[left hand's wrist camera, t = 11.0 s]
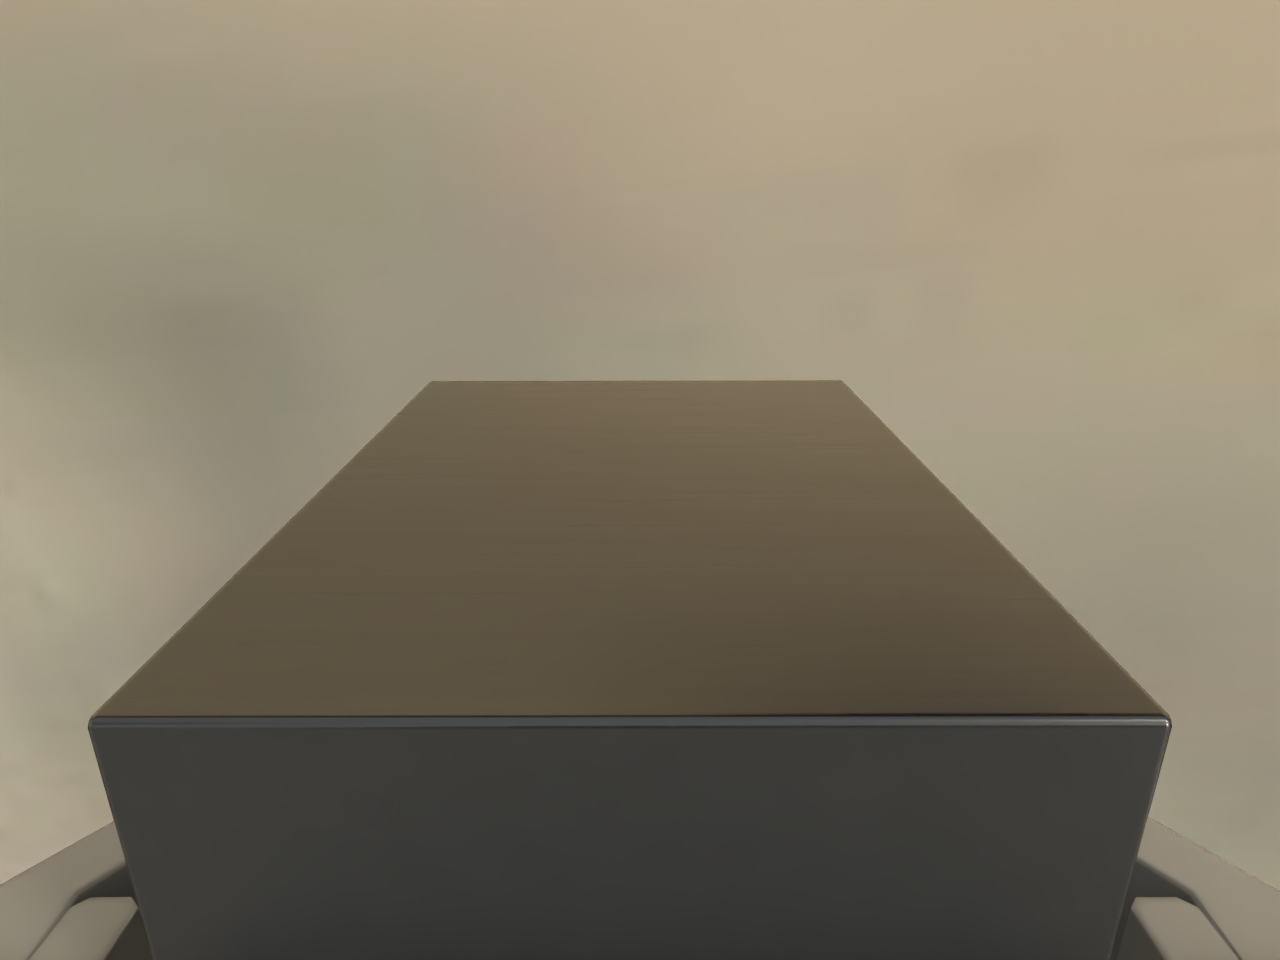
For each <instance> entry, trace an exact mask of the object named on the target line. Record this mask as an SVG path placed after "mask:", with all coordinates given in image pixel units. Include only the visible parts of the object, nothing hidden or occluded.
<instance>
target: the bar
mask: <svg viewBox="0 0 1280 960" xmlns="http://www.w3.org/2000/svg"><path fill="white" fill-rule="evenodd" d="M1171 728H1172V724H1171V719H1170V717H1169V715H1168V714H1167V713H1166V712H1165V711H1164V710H1163V709H1162V707H1161V706H1160V705H1159V704H1158V703H1157V702H1156V701H1155V700H1154V699H1153V698H1152V697H1151V696H1150V695H1149V694H1148V693H1147V692H1146V691H1145V690H1144V689H1143V688H1142V687H1141V686H1140V685H1139V684H1138V683H1137V682H1136V681H1135V680H1134V679H1133V678H1132V677H1131V676H1130V675H1129V674H1128V673H1127V672H1126V671H1125V670H1124V669H1123V668H1122V667H1121V666H1120V665H1119V663H1118V662H1117V661H1116V660H1115V659H1114V658H1113V657H1112V656H1111V655H1110V654H1109V653H1108V652H1107V651H1106V650H1105V649H1104V648H1103V647H1102V646H1101V645H1100V644H1099V643H1098V642H1097V641H1096V640H1095V639H1094V638H1093V637H1092V636H1091V635H1090V634H1089V633H1088V632H1087V631H1086V630H1085V629H1084V628H1083V627H1082V626H1081V625H1080V624H1079V623H1078V622H1077V621H1076V620H1075V618H1074V617H1073V616H1072V615H1071V614H1070V613H1069V612H1068V611H1067V610H1066V609H1065V608H1064V607H1063V606H1062V605H1061V604H1060V603H1059V602H1058V601H1057V600H1056V599H1055V598H1054V597H1053V596H1052V595H1051V594H1050V593H1049V592H1048V591H1047V590H1046V589H1045V588H1044V587H1043V586H1042V585H1041V584H1040V583H1039V582H1038V581H1037V580H1036V579H1035V578H1034V577H1033V576H1032V575H1031V573H1030V572H1029V571H1028V570H1027V569H1026V568H1025V567H1024V566H1023V565H1022V564H1021V563H1020V562H1019V561H1018V560H1017V559H1016V558H1015V557H1014V556H1013V555H1012V554H1011V553H1010V552H1009V551H1008V550H1007V549H1006V548H1005V547H1004V546H1003V545H1002V544H1001V543H1000V542H999V541H998V540H997V539H996V538H995V537H994V536H993V535H992V534H991V533H990V532H989V531H988V529H987V528H986V527H985V526H984V525H983V524H982V523H981V522H980V521H979V520H978V519H977V518H976V517H975V516H974V515H973V514H972V513H971V512H970V511H969V510H968V509H967V508H966V507H965V506H964V505H963V504H962V503H961V502H960V501H959V500H958V499H957V498H956V497H955V496H954V495H953V494H952V493H951V492H950V491H949V490H948V489H947V488H946V487H945V486H944V484H943V483H942V482H941V481H940V480H939V479H938V478H937V477H936V476H935V475H934V474H933V473H932V472H931V471H930V470H929V469H928V468H927V467H926V466H925V465H924V464H923V463H922V462H921V461H920V460H919V459H918V458H917V457H916V456H915V455H914V454H913V453H912V452H911V451H910V450H909V449H908V448H907V447H906V446H905V445H904V444H903V443H902V442H901V440H900V439H899V438H898V437H897V436H896V435H895V434H894V433H893V432H892V431H891V430H890V429H889V428H888V427H887V426H886V425H885V424H884V423H883V422H882V421H881V420H880V419H879V418H878V417H877V416H876V415H875V414H874V413H873V412H872V411H871V410H870V409H869V408H868V407H867V406H866V405H865V404H864V403H863V402H862V401H861V400H860V399H859V398H858V397H857V395H856V394H855V393H854V392H853V391H852V390H851V389H850V388H849V387H848V386H847V385H846V384H845V383H844V382H842V381H432V382H430V383H429V384H428V385H427V386H426V387H425V388H424V389H423V390H422V391H421V392H420V393H419V394H418V395H417V396H416V397H415V398H414V399H413V400H412V401H411V402H410V403H409V404H407V405H406V406H405V407H404V408H403V409H402V410H401V411H400V412H399V413H398V414H397V415H396V416H395V417H394V418H393V419H392V420H391V421H390V422H389V423H388V424H387V425H386V426H385V427H384V428H383V429H382V430H381V431H380V432H379V433H378V434H377V435H376V436H375V437H374V438H373V439H372V440H371V441H370V442H369V443H368V444H367V445H366V446H365V447H364V448H363V449H362V450H361V451H360V452H359V453H358V454H357V455H356V456H355V457H354V458H353V459H352V460H351V461H350V462H349V463H348V464H347V465H346V466H345V467H344V468H343V469H342V470H341V471H340V472H339V473H338V474H337V475H336V476H335V477H334V478H332V479H331V480H330V481H329V482H328V483H327V484H326V485H325V486H324V487H323V488H322V489H321V490H320V491H319V492H318V493H317V494H316V495H315V496H314V497H313V498H312V499H311V500H310V501H309V502H308V503H307V504H306V505H305V506H304V507H303V508H302V509H301V510H300V511H299V512H298V513H297V514H296V515H295V516H294V517H293V518H292V519H291V520H290V521H289V522H288V523H287V524H286V525H285V526H284V527H283V528H282V529H281V530H280V531H279V532H278V533H277V534H276V535H275V536H274V537H273V538H272V539H271V540H270V541H269V542H268V543H267V544H266V545H265V546H264V547H263V548H262V549H261V550H260V551H259V552H258V553H256V554H255V555H254V556H253V557H252V558H251V559H250V560H249V561H248V562H247V563H246V564H245V565H244V566H243V567H242V568H241V569H240V570H239V571H238V572H237V573H236V574H235V575H234V576H233V577H232V578H231V579H230V580H229V581H228V582H227V583H226V584H225V585H224V586H223V587H222V588H221V589H220V590H219V591H218V592H217V593H216V594H215V595H214V596H213V597H212V598H211V599H210V600H209V601H208V602H207V603H206V604H205V605H204V606H203V607H202V608H201V609H200V610H199V611H198V612H197V613H196V614H195V615H194V616H193V617H192V618H191V619H190V620H189V621H188V622H187V623H186V624H185V625H184V626H183V627H182V628H180V629H179V630H178V631H177V632H176V633H175V634H174V635H173V636H172V637H171V638H170V639H169V640H168V641H167V642H166V643H165V644H164V645H163V646H162V647H161V648H160V649H159V650H158V651H157V652H156V653H155V654H154V655H153V656H152V657H151V658H150V659H149V660H148V661H147V662H146V663H145V664H144V665H143V666H142V667H141V668H140V669H139V670H138V671H137V672H136V673H135V674H134V675H133V676H132V677H131V678H130V679H129V680H128V681H127V682H126V683H125V684H124V685H123V686H122V687H121V688H120V689H119V690H118V691H117V692H116V693H115V694H114V695H113V696H112V697H111V698H110V699H109V700H108V701H107V702H105V703H104V704H103V705H102V706H101V707H100V708H99V709H98V710H97V711H96V712H95V713H94V714H93V715H92V716H91V718H90V720H89V724H88V730H89V734H90V737H91V741H92V745H93V748H94V752H95V755H96V759H97V762H98V766H99V769H100V773H101V776H102V780H103V783H104V787H105V790H106V794H107V798H108V801H109V805H110V808H111V812H112V815H113V819H114V822H115V826H116V829H117V833H118V836H119V840H120V843H121V847H122V851H123V854H124V858H125V861H126V865H127V868H128V872H129V875H130V879H131V882H132V886H133V889H134V893H135V896H136V900H137V904H138V907H139V911H140V914H141V918H142V921H143V925H144V928H145V932H146V935H147V939H148V942H149V946H150V949H151V953H152V957H153V960H1110V957H1111V953H1112V949H1113V945H1114V942H1115V938H1116V934H1117V930H1118V927H1119V923H1120V919H1121V915H1122V912H1123V908H1124V904H1125V900H1126V897H1127V893H1128V889H1129V885H1130V882H1131V878H1132V874H1133V870H1134V867H1135V863H1136V859H1137V855H1138V852H1139V848H1140V844H1141V840H1142V837H1143V833H1144V829H1145V826H1146V822H1147V818H1148V814H1149V811H1150V807H1151V803H1152V799H1153V796H1154V792H1155V788H1156V784H1157V781H1158V777H1159V773H1160V769H1161V766H1162V762H1163V758H1164V754H1165V751H1166V747H1167V743H1168V739H1169V736H1170V732H1171Z"/></svg>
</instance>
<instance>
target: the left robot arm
mask: <svg viewBox="0 0 1280 960" xmlns="http://www.w3.org/2000/svg"><path fill="white" fill-rule="evenodd" d="M0 960H153V957H152V953H151V949H150V946H149V942H148V939H147V935H146V932H145V928H144V925H143V921H142V918H141V914H140V911H139V907H138V904H137V900H136V896H135V893H134V889H133V886H132V882H131V879H130V875H129V872H128V868H127V865H126V861H125V858H124V854H123V851H122V847H121V843H120V840H119V836H118V833H117V829H116V826H115V822H112V823H110V824H108V825H106V826H105V827H103V828H101V829H99V830H97V831H96V832H94V833H92V834H90V835H88V836H87V837H85V838H83V839H81V840H80V841H78V842H76V843H74V844H72V845H71V846H69V847H67V848H65V849H63V850H62V851H60V852H58V853H56V854H55V855H53V856H51V857H49V858H47V859H46V860H44V861H42V862H40V863H38V864H37V865H35V866H33V867H31V868H29V869H28V870H26V871H24V872H22V873H21V874H19V875H17V876H15V877H13V878H12V879H10V880H8V881H6V882H4V883H3V884H1V885H0ZM1110 960H1280V891H1278V890H1276V889H1275V888H1273V887H1271V886H1269V885H1268V884H1266V883H1264V882H1262V881H1261V880H1259V879H1257V878H1255V877H1253V876H1252V875H1250V874H1248V873H1246V872H1245V871H1243V870H1241V869H1239V868H1238V867H1236V866H1234V865H1232V864H1231V863H1229V862H1227V861H1225V860H1223V859H1222V858H1220V857H1218V856H1216V855H1215V854H1213V853H1211V852H1209V851H1208V850H1206V849H1204V848H1202V847H1200V846H1199V845H1197V844H1195V843H1193V842H1192V841H1190V840H1188V839H1186V838H1185V837H1183V836H1181V835H1179V834H1178V833H1176V832H1174V831H1172V830H1170V829H1169V828H1167V827H1165V826H1163V825H1162V824H1160V823H1158V822H1156V821H1155V820H1153V819H1151V818H1149V817H1148V818H1147V822H1146V826H1145V829H1144V833H1143V837H1142V840H1141V844H1140V848H1139V852H1138V855H1137V859H1136V863H1135V867H1134V870H1133V874H1132V878H1131V882H1130V885H1129V889H1128V893H1127V897H1126V900H1125V904H1124V908H1123V912H1122V915H1121V919H1120V923H1119V927H1118V930H1117V934H1116V938H1115V942H1114V945H1113V949H1112V953H1111V957H1110Z"/></svg>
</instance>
